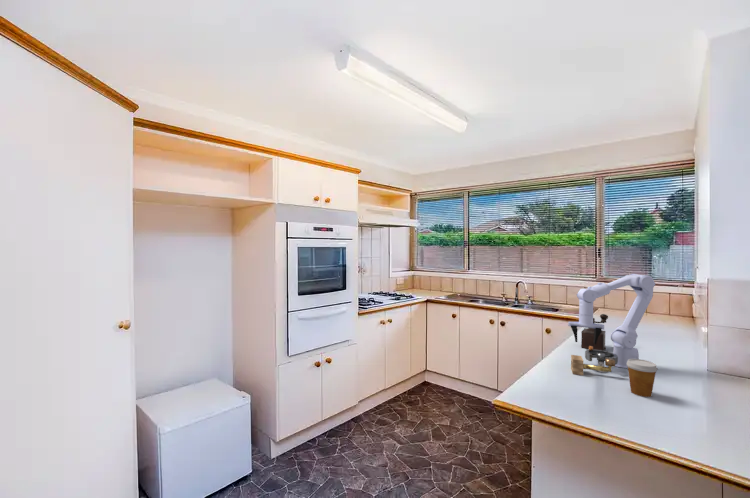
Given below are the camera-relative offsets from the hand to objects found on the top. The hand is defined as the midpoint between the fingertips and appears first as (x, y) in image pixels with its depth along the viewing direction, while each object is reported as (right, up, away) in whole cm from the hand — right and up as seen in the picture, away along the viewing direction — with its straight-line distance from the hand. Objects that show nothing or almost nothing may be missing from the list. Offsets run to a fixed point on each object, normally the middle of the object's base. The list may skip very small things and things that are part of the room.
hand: (585, 342), depth 165 cm
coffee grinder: (+22, -10, +28) cm, 38 cm away
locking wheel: (+3, -6, -6) cm, 9 cm away
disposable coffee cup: (+2, -11, -31) cm, 33 cm away
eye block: (-10, -11, -10) cm, 17 cm away
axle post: (+3, -11, -7) cm, 13 cm away
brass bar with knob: (-3, -9, -13) cm, 16 cm away
